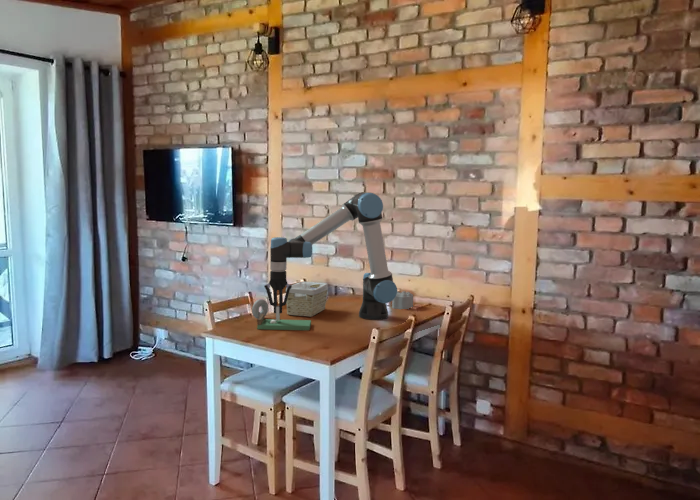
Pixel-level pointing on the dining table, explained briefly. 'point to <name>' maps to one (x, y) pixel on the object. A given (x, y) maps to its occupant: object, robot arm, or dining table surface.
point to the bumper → (260, 319)
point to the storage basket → (306, 298)
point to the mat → (285, 325)
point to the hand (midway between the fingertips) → (277, 319)
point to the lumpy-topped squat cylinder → (403, 300)
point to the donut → (256, 308)
